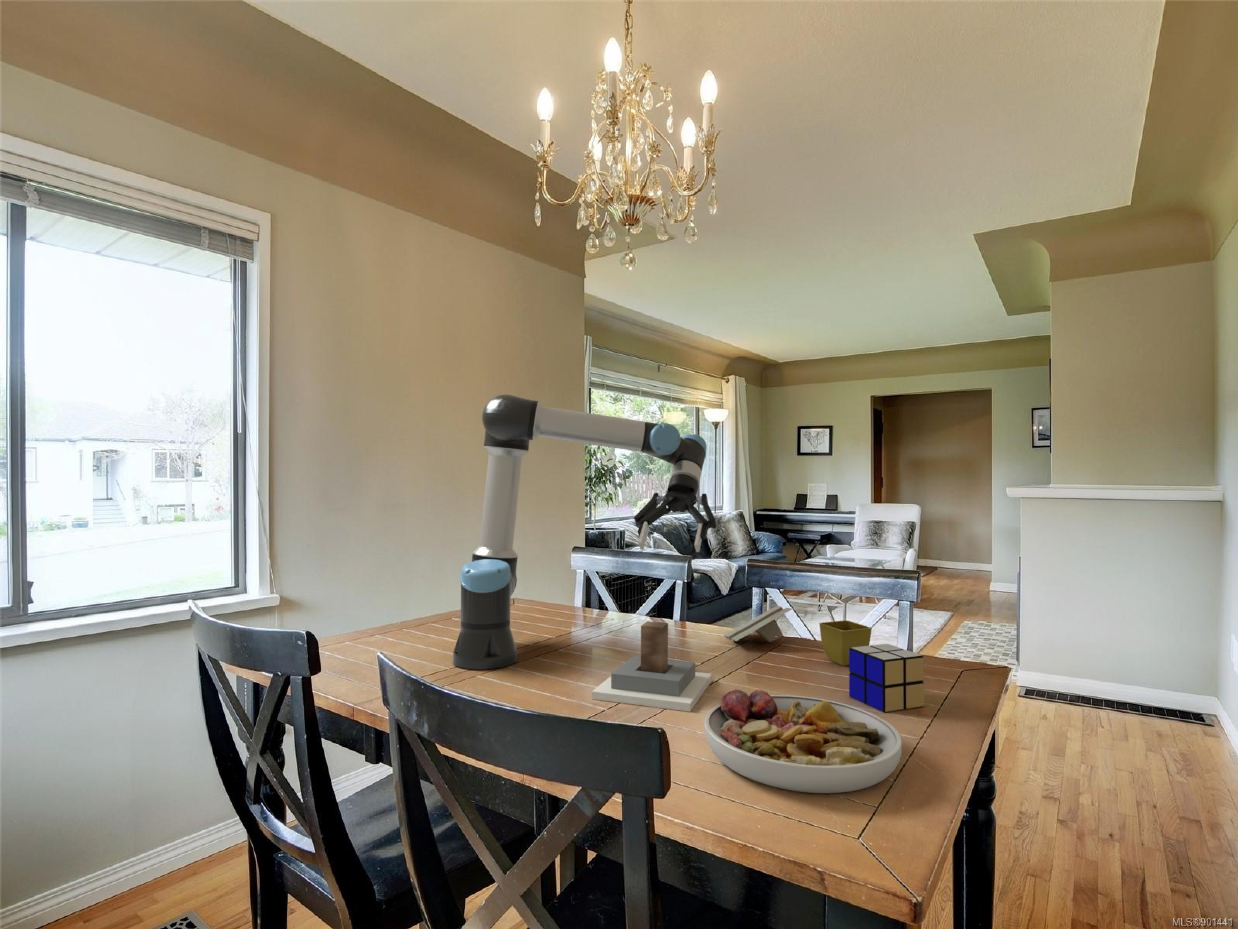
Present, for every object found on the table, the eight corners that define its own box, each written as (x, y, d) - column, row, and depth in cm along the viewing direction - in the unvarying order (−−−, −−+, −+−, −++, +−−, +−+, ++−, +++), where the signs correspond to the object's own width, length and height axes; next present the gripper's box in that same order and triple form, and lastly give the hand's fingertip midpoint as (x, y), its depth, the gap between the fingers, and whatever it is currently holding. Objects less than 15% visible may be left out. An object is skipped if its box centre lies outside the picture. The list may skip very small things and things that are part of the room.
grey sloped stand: (762, 671, 166) (810, 625, 168) (735, 641, 167) (783, 595, 169) (747, 662, 184) (791, 621, 186) (723, 635, 185) (766, 594, 187)
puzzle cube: (848, 697, 133) (848, 647, 134) (887, 691, 137) (887, 643, 137) (884, 714, 124) (883, 660, 124) (925, 707, 127) (925, 655, 128)
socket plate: (591, 699, 131) (591, 676, 131) (625, 671, 150) (625, 651, 150) (690, 711, 124) (690, 687, 124) (711, 680, 143) (711, 660, 143)
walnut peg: (640, 684, 136) (640, 625, 136) (647, 678, 140) (647, 621, 140) (661, 686, 134) (661, 627, 135) (667, 680, 139) (667, 623, 139)
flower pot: (872, 666, 155) (872, 627, 155) (843, 669, 152) (843, 630, 152) (847, 656, 163) (847, 620, 163) (818, 660, 160) (818, 622, 160)
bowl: (928, 754, 106) (928, 705, 106) (854, 828, 84) (854, 766, 84) (763, 710, 126) (763, 668, 126) (667, 760, 104) (667, 709, 104)
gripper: (734, 493, 168) (723, 559, 153) (641, 492, 176) (622, 554, 162) (730, 472, 163) (718, 538, 148) (634, 472, 171) (614, 535, 157)
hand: (668, 547), depth 155 cm, fingers open, 13 cm apart
